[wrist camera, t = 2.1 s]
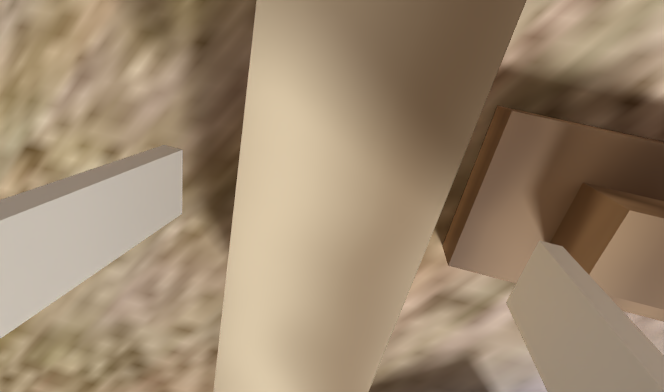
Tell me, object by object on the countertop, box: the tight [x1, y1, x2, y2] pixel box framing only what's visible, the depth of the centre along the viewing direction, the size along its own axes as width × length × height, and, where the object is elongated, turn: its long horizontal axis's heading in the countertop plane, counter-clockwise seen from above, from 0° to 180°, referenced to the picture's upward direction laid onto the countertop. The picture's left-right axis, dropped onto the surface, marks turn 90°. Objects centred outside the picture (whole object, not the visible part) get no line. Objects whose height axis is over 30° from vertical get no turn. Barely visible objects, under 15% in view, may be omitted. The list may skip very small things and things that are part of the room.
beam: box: [214, 0, 526, 392], centre depth 13 cm, size 5×24×10 cm, turn 167°
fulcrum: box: [443, 106, 664, 321], centre depth 14 cm, size 12×8×5 cm, turn 79°
